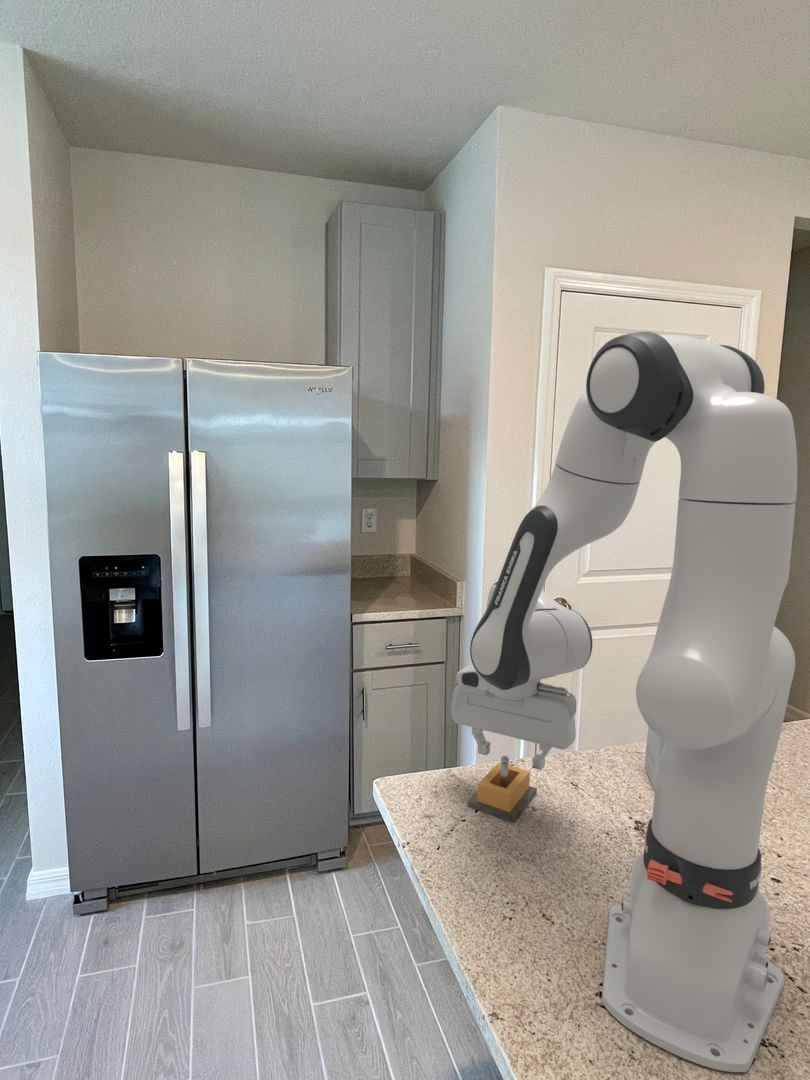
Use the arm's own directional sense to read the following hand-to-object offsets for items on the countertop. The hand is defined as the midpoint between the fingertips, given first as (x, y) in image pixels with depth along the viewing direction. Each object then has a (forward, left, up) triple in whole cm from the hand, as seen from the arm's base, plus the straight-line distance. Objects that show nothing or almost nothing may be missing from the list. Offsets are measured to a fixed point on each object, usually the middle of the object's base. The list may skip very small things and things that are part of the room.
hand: (510, 760), depth 104 cm
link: (0, +1, -6) cm, 7 cm away
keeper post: (0, +1, -7) cm, 8 cm away
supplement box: (+23, -22, -8) cm, 33 cm away
